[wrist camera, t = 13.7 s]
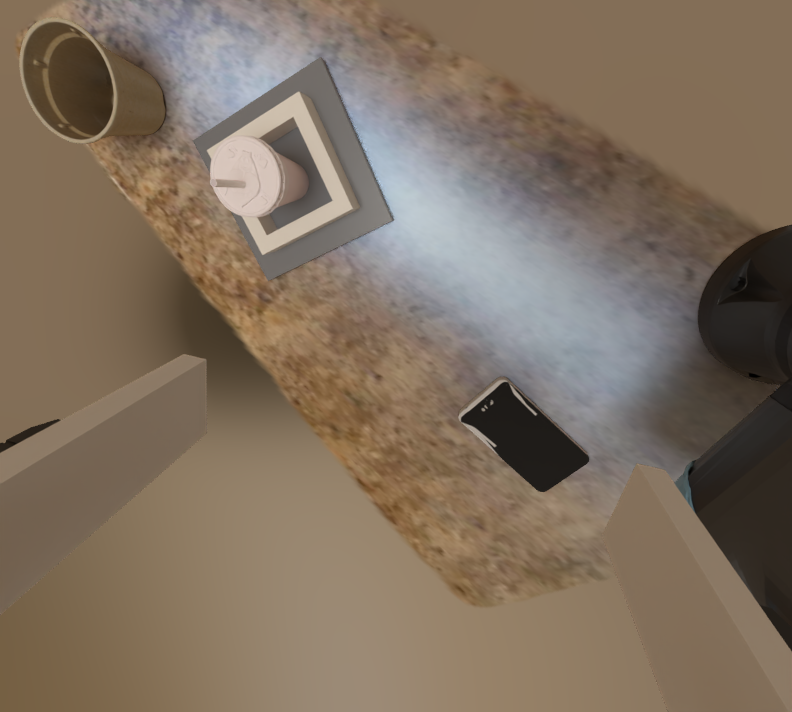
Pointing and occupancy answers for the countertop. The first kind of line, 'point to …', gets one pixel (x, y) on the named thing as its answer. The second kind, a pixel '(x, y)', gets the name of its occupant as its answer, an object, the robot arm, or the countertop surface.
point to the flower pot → (86, 85)
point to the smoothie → (254, 177)
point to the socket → (321, 159)
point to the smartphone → (522, 435)
